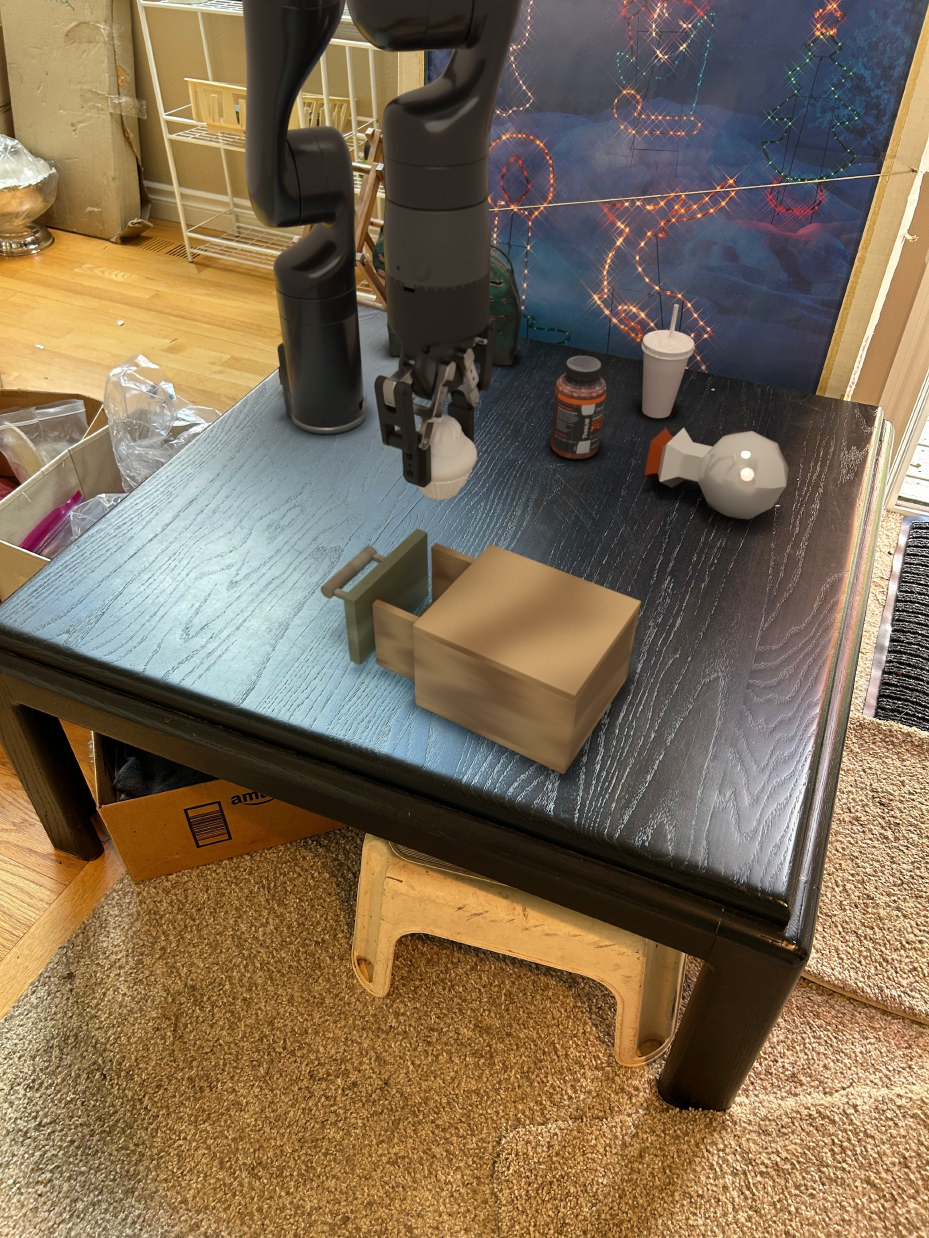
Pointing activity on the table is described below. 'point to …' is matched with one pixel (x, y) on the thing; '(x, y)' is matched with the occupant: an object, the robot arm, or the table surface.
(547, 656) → the cabinet
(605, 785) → the table surface
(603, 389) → the supplement bottle
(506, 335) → the ceramic cat
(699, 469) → the potion bottle
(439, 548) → the drawer
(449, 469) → the muffin
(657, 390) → the smoothie
